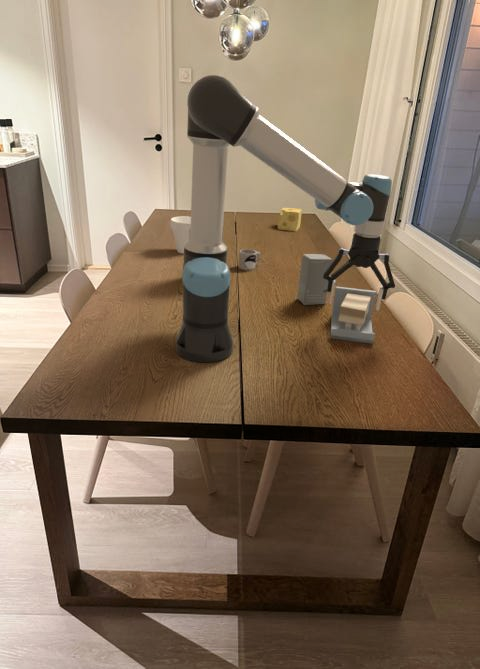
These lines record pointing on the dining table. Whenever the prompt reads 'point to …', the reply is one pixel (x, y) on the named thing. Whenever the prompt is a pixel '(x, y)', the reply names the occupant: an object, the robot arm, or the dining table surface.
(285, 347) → the dining table surface
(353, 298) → the slab
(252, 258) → the mug
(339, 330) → the cradle
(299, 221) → the cheese
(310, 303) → the skincare box
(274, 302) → the dining table surface
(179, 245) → the cup
